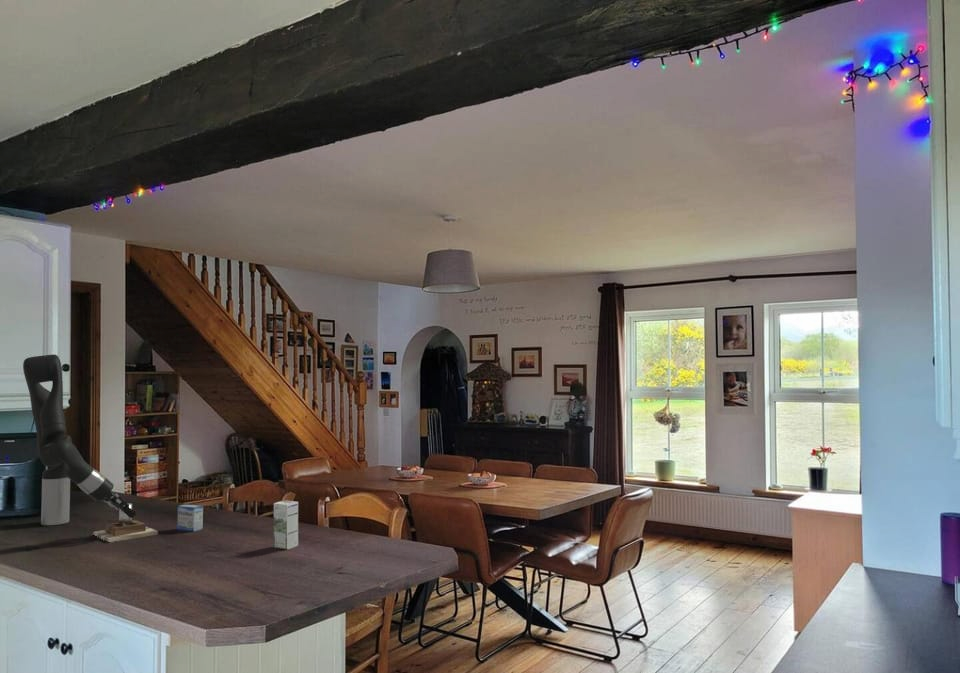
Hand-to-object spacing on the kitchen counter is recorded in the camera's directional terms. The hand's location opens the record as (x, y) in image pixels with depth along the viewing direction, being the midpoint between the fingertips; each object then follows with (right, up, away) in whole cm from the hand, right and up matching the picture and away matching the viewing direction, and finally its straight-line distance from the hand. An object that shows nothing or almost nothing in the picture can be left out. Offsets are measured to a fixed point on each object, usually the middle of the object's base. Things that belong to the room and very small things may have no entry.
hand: (131, 514), depth 245 cm
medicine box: (+18, -7, +6) cm, 20 cm away
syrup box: (+61, -5, -21) cm, 64 cm away
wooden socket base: (-1, -7, -2) cm, 7 cm away
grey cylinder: (-1, -4, -2) cm, 5 cm away
